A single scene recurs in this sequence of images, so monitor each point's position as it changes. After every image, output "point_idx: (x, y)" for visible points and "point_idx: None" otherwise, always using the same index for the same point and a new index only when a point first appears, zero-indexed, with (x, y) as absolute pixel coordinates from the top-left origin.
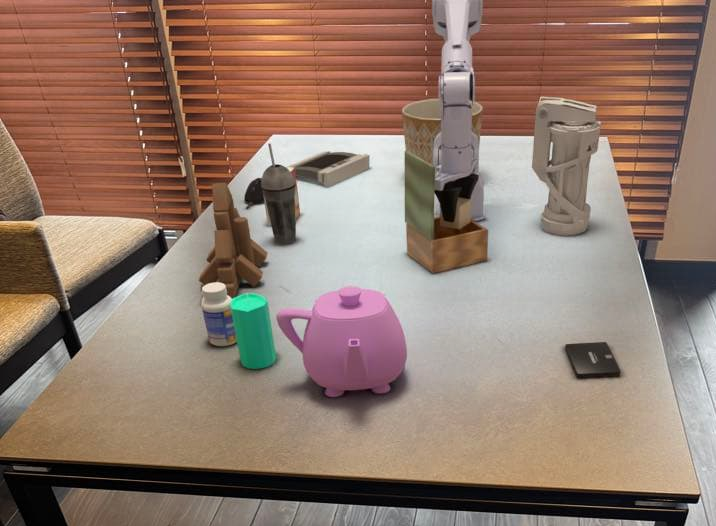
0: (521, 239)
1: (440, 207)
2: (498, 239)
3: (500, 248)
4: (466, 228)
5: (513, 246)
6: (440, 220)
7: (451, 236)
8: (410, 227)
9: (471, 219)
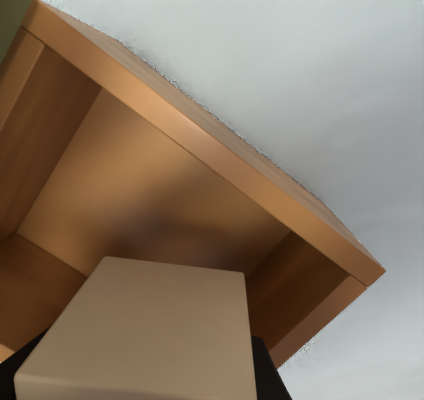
0: (404, 383)
1: (40, 342)
2: (388, 322)
3: (307, 350)
4: (270, 305)
5: (336, 378)
6: (91, 274)
7: (10, 354)
8: (3, 66)
9: (276, 365)
